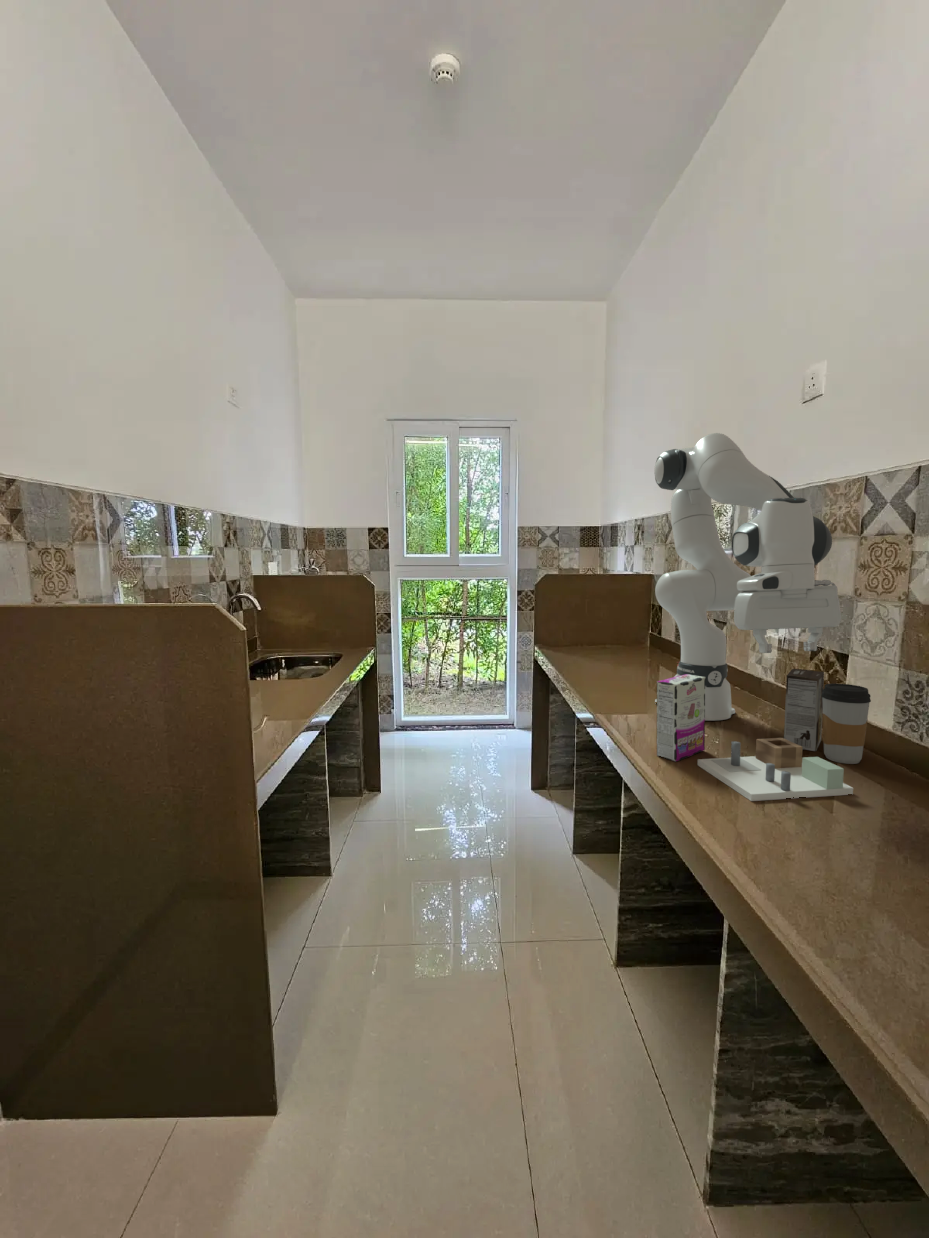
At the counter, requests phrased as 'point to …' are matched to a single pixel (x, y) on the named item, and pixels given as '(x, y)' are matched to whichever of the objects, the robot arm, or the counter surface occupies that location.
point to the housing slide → (822, 772)
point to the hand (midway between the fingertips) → (787, 651)
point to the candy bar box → (680, 716)
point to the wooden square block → (779, 752)
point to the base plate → (764, 778)
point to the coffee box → (804, 708)
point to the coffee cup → (844, 721)
